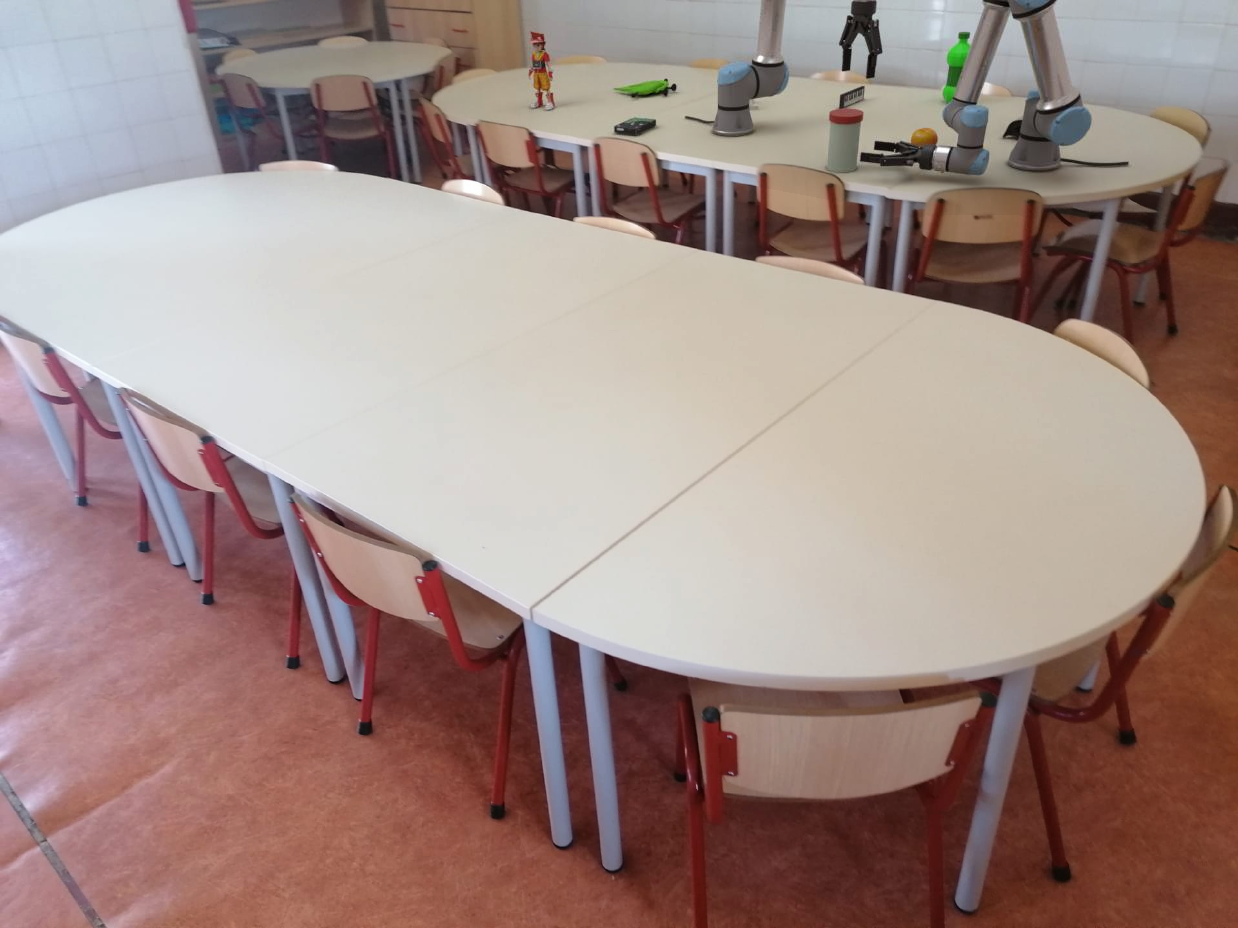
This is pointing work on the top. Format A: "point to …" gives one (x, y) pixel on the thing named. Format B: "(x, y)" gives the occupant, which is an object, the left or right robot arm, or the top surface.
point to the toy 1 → (541, 71)
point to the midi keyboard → (851, 96)
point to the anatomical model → (752, 104)
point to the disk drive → (635, 126)
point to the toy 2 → (648, 88)
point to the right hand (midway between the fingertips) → (867, 151)
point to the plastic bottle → (956, 64)
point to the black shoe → (1014, 128)
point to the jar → (843, 147)
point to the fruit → (924, 137)
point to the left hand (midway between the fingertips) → (857, 74)
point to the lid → (846, 116)
